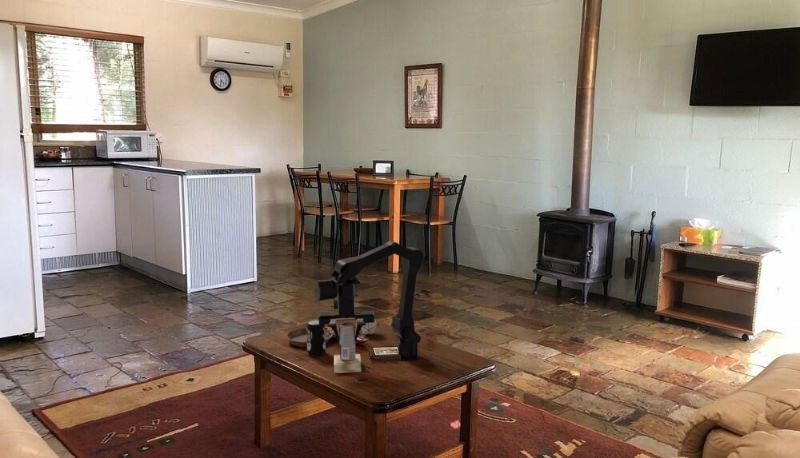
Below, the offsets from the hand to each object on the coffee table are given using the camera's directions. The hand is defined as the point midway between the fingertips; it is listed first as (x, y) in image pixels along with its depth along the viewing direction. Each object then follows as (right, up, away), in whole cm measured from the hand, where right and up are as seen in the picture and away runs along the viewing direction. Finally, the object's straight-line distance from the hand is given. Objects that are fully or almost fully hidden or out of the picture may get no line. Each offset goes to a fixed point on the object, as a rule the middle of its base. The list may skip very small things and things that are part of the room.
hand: (347, 341), depth 214 cm
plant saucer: (-17, -5, +29) cm, 34 cm away
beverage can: (-12, -7, +15) cm, 21 cm away
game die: (+5, -4, +36) cm, 36 cm away
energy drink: (0, -6, +1) cm, 6 cm away
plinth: (0, -9, +1) cm, 9 cm away
